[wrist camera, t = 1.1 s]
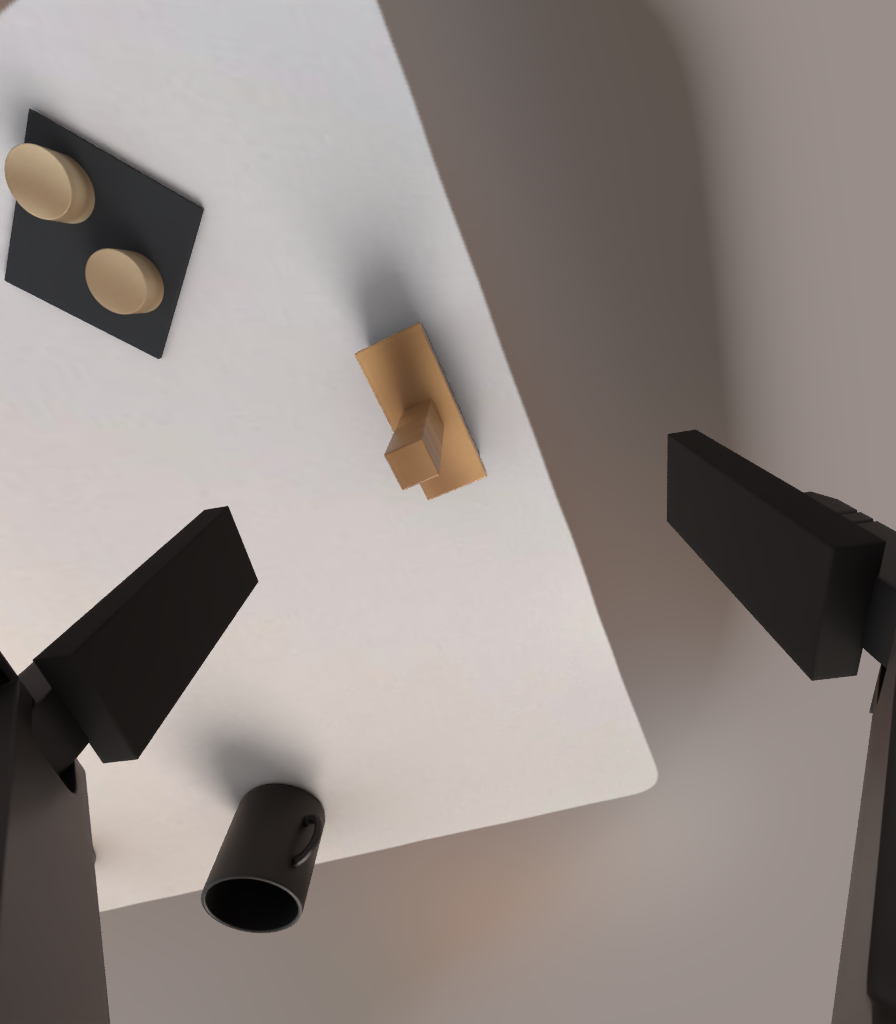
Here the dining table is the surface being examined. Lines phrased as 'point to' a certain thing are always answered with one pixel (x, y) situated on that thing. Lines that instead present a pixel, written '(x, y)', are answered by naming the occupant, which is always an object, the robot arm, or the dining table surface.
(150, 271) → the disc
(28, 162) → the disc
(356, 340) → the dining table surface
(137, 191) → the mat
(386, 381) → the wooden t-shaped block
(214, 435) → the dining table surface
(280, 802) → the mug
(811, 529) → the robot arm
